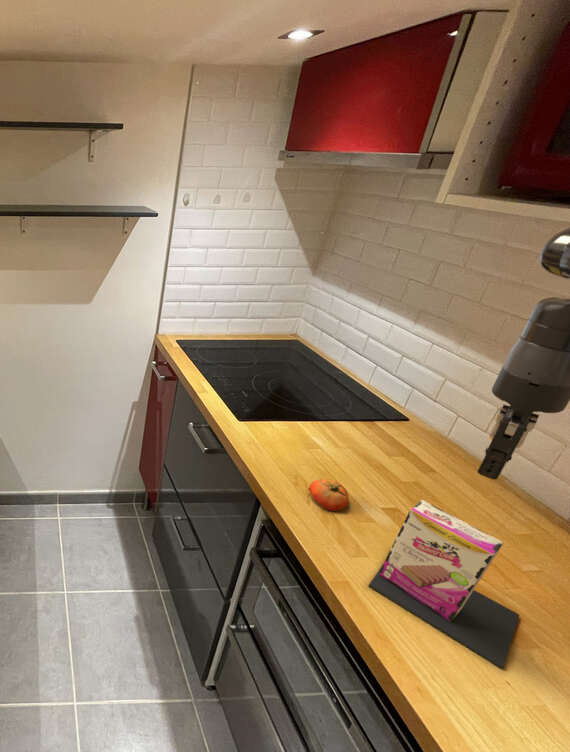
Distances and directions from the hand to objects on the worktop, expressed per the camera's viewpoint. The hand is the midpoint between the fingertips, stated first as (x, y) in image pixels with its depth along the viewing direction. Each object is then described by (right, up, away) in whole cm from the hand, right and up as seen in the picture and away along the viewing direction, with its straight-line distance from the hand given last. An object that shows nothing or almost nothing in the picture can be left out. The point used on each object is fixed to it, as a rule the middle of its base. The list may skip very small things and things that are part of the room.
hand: (492, 464), depth 70 cm
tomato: (-5, -16, +32) cm, 36 cm away
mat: (+1, -27, +9) cm, 28 cm away
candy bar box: (-3, -26, +10) cm, 28 cm away
